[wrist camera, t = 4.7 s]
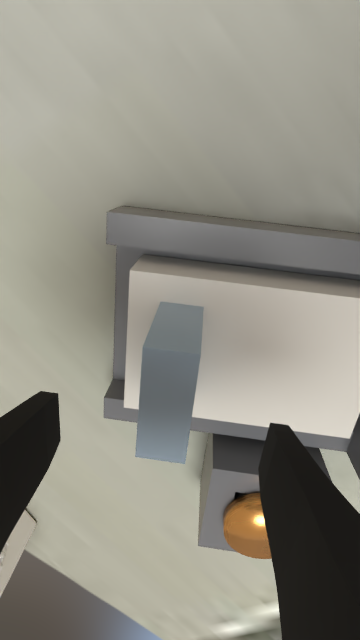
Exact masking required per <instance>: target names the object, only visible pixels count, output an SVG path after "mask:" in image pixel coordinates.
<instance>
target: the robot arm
mask: <svg viewBox="0 0 360 640" xmlns="http://www.w3.org/2000/svg"><path fill="white" fill-rule="evenodd" d="M59 442H60V421H59V401H58V393H50V392H43V391H40V392H39V393H37V394H35V395H34V396H32V397H31V398H29V399H28V400H26V401H25V402H23V403H22V404H20V405H19V406H17V407H16V408H14V409H13V410H11V411H10V412H8V413H6V414H5V415H3V416H2V417H0V554H1V552H2V550H3V548H4V546H5V544H6V542H7V540H8V538H9V536H10V534H11V532H12V531H13V529H14V527H15V526H16V524H17V522H18V520H19V519H20V517H21V515H22V514H23V512H24V510H25V508H26V507H27V505H28V503H29V501H30V500H31V498H32V496H33V495H34V493H35V491H36V489H37V488H38V486H39V484H40V482H41V481H42V479H43V477H44V475H45V474H46V472H47V470H48V468H49V466H50V464H51V461H52V459H53V457H54V455H55V452H56V450H57V447H58V445H59ZM258 473H259V488H260V499H261V505H262V510H263V516H264V521H265V526H266V531H267V537H268V542H269V547H270V552H271V557H272V562H273V568H274V573H275V579H276V586H277V593H278V602H279V612H280V622H281V631H282V640H360V514H359V513H358V512H357V511H356V510H355V508H354V507H353V506H352V505H351V504H350V503H349V502H348V501H347V499H346V498H345V497H344V496H343V495H342V494H341V493H340V491H339V490H338V489H337V488H336V487H335V486H334V484H333V483H332V482H331V481H330V479H329V478H328V477H327V476H326V474H325V473H324V472H323V471H322V469H321V468H320V467H319V466H318V464H317V463H316V462H315V460H314V459H313V458H312V456H311V455H310V454H309V452H308V451H307V450H306V448H305V447H304V445H303V444H302V443H301V441H300V440H299V439H298V437H297V436H296V435H295V433H294V432H293V430H292V429H291V428H290V426H289V425H284V424H277V423H270V425H269V429H268V432H267V436H266V440H265V444H264V448H263V452H262V455H261V459H260V463H259V467H258Z"/></svg>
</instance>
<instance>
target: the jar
mask: <svg viewBox="0 0 360 640" xmlns="http://www.w3.org/2000/svg"><path fill="white" fill-rule="evenodd" d="M35 526H36V521H35V520H34V519H33V518H32V517H31V516H30V515H29V513H28V512H27V511H26V510H24V512H23V514H22V515H21V517H20V519H19V520H18V522H17V524H16V526H15V527H14V529H13V531H12V532H11V534H10V536H9V538H8V540H7V542H6V544H5V546H4V548H3V550H2V552H1V554H0V597H1V595H2V593H3V591H4V589H5V587H6V585H7V583H8V581H9V579H10V577H11V575H12V572H13V571H14V569H15V567H16V565H17V563H18V561H19V559H20V556H21V555H22V552H23V551H24V549H25V547H26V545H27V543H28V541H29V539H30V537H31V535H32V532H33V530H34V528H35Z"/></svg>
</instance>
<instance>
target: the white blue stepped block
mask: <svg viewBox="0 0 360 640" xmlns="http://www.w3.org/2000/svg"><path fill="white" fill-rule="evenodd" d="M124 408H131V409H138V425H137V440H136V455H135V457H140V458H147V459H154V460H161V461H168V462H175V463H182V464H185V461H186V454H187V447H188V440H189V433H190V426H191V419H192V417H196V418H203V419H211V420H218V421H225V422H232V423H240V424H247V425H254V426H261V427H269V425H270V423H277V424H284V425H289V426H290V428H291V429H292V430H293V431H297V432H305V433H312V434H319V435H326V436H334V437H341V438H348V439H350V437H351V434H352V432H353V429H354V426H355V424H356V421H357V419H358V416H359V414H360V281H358V280H350V279H342V278H333V277H325V276H317V275H309V274H300V273H292V272H284V271H276V270H267V269H259V268H251V267H243V266H234V265H226V264H218V263H209V262H201V261H193V260H185V259H176V258H168V257H160V256H152V255H142V256H141V257H140V258H139V260H138V261H137V262H136V263H135V264H134V266H133V267H132V268H131V269H130V275H129V298H128V321H127V344H126V367H125V389H124Z"/></svg>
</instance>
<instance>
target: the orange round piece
mask: <svg viewBox="0 0 360 640" xmlns="http://www.w3.org/2000/svg"><path fill="white" fill-rule="evenodd" d="M223 530H224V537H225V540H226V541H227V543H228V544H229V545H230V547H232V548H233V549H234V550H235V551H237V552H239V553H241V554H243V555H245V556H248V557H252V558H259V559H271V558H272V557H271V552H270V547H269V542H268V537H267V531H266V526H265V521H264V516H263V510H262V505H261V499H260V493H252V494H247V493H240V492H235V495H234V500H233V502H231V503H230V504H229V505H228V507H227V508H226V510H225V512H224V515H223Z"/></svg>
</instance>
